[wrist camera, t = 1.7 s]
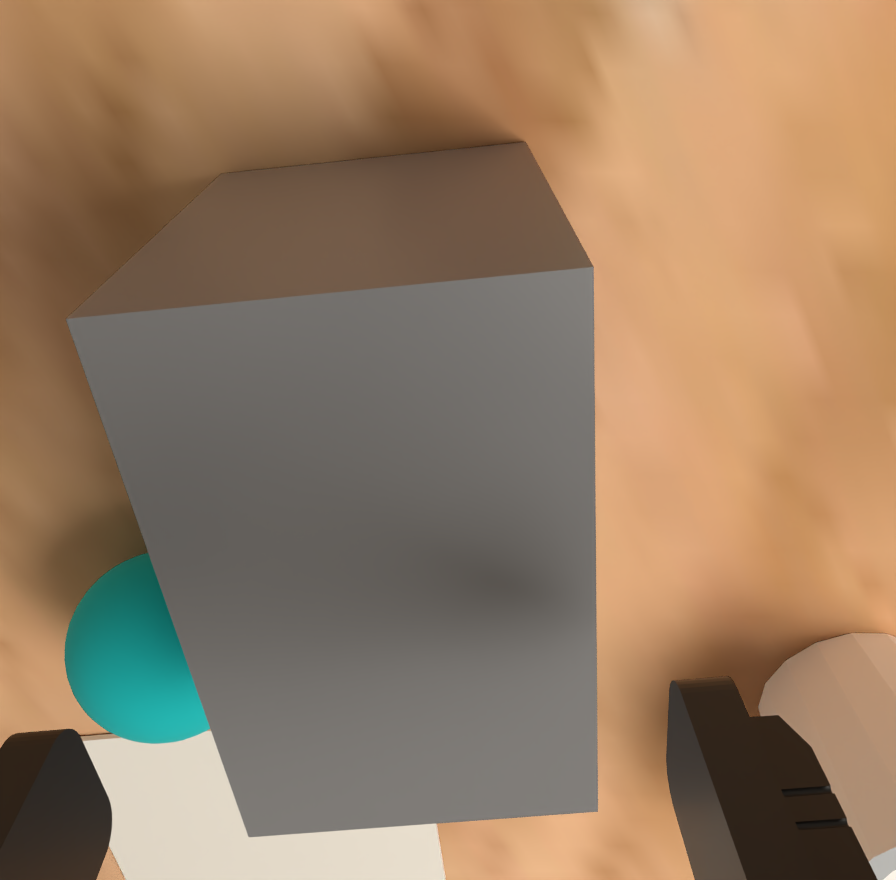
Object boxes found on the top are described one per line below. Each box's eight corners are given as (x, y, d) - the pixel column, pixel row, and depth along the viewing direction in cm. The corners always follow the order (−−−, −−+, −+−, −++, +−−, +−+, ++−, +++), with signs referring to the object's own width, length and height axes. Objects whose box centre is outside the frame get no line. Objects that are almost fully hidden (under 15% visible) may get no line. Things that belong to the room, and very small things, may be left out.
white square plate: (60, 737, 27) (58, 742, 27) (417, 709, 27) (417, 714, 26) (159, 938, 33) (157, 943, 33) (452, 917, 33) (452, 923, 32)
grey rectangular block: (221, 173, 18) (65, 319, 10) (525, 141, 18) (593, 266, 10) (309, 556, 23) (248, 837, 16) (544, 536, 23) (597, 811, 16)
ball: (81, 521, 23) (-2, 650, 18) (257, 506, 23) (215, 632, 18) (132, 652, 25) (70, 793, 21) (292, 639, 25) (262, 778, 21)
